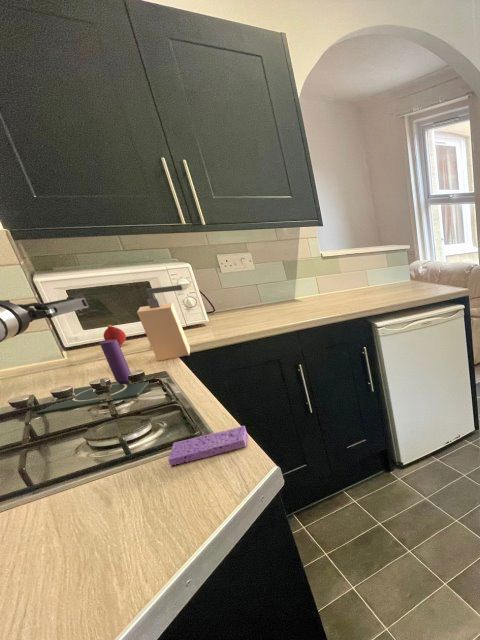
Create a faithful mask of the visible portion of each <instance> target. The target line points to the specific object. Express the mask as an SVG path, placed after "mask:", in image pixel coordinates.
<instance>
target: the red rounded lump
mask: <svg viewBox="0 0 480 640" xmlns="http://www.w3.org/2000/svg"><path fill="white" fill-rule="evenodd" d="M106 327H107V328H106V329H105V330H104V332H103V340H104V341H106V340H113V339H116V340H117V341H118V343H119V345H121V346H122V345H123V344H124V343H125V341H126V340H127V335H126V333H125V332H124V330H122V329H120V328H119V327H116V326H113V325H111V324H107V326H106Z"/></svg>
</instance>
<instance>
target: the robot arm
mask: <svg viewBox="0 0 480 640" xmlns="http://www.w3.org/2000/svg"><path fill="white" fill-rule="evenodd" d="M88 308H90V306H89V303H88V301H87V299H86V297H85V294H84V293H83V292H78V293H75V294H73V295H70V296H67V297H66V298H65V299H58V300H53V301H48V302H43V303H40V302H30V303H24V304H23V303H22V304H21V303H18V304H16V303H14V302H11V301H10V300H9V299H6V300H5V299H4V300H2V299H0V343H3V342H5V341H7V340H9V339H11V338H15V337H16V336H18V335H21V334H23V333H25V332H26V331H27V330H28V329H29V326H30V323H32V322H33V321H38V320H42V319H45V318H47V319H52V318H55V317H57V316H61V315H64V314H68V313H72V312H82V311H83V310H84V309H88Z"/></svg>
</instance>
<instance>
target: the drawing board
mask: <svg viewBox="0 0 480 640" xmlns="http://www.w3.org/2000/svg"><path fill="white" fill-rule="evenodd" d="M149 376H151V377H153V376H155V375H147V376H146V377H149ZM110 383H112V387H111V391H110V395H111V398H112V399H113V400H115V401H121V400H127V399H133V398H138V397H139V396H140V395H141V394H142V393H143V392H144V391H145V389H146V388H147V387H148V386H149V385H150V384H151V382H150V383H149V381H148V382H142V383H136V384H129V383H127V384H119V382H118V381H113V382H112V381H111V382H110ZM92 386H93V385H88V386H82V387H76V388H73V389H74V393H75V395H77V396H76V397H75V398H73V399H71V400H67V401H64V402H60V403H56V404H54V405H51V406H49V407H47V408H45V409H42V408H41V409H42V410H40V409H39V410H40V411H39V410H37V411H36V415H37V414H38V415H43V414H49V413H56V412H60V411H65V410H72V409H77V408H82V407H88V406H93V405H99V404H101V403H100V402H101V401H99V400H98V399H99V395H98V394H96V393H94V392H93V388H92ZM51 401H54V398H53V399H52V400H51ZM115 401H114V402H115Z"/></svg>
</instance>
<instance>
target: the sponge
mask: <svg viewBox="0 0 480 640" xmlns="http://www.w3.org/2000/svg"><path fill="white" fill-rule="evenodd" d="M246 433H247V435H246ZM247 437H248V432H247V429H246V426H245V425H241V426H238V427H233V428H230V429H227V430H223V431H217V432H214V433H209V434H204V435H201V436H200V435H199V436H196V437H193V438H189V439H184V440H181V441H180V440H179V441H174V442H173V443H172V447H171V452H170V454H169V456H168V459H167V460H168V463H169V466H170V467H172V466H171V465H175V466H177V465H176V464H179V463H182V464H185V463H184V462H187V463H189V462H188V461H190V462H194V461H198V460H201V458H202V459H206V458H209V457H212V456H216V455H220V454H223V453H227V452H232V451H233V450H238V449H242V448H245V447H246V446H247ZM197 459H198V460H197ZM193 460H194V461H193ZM179 465H180V464H179Z"/></svg>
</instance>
